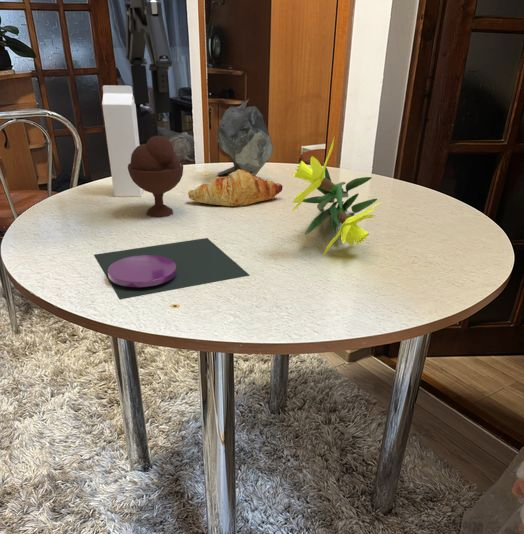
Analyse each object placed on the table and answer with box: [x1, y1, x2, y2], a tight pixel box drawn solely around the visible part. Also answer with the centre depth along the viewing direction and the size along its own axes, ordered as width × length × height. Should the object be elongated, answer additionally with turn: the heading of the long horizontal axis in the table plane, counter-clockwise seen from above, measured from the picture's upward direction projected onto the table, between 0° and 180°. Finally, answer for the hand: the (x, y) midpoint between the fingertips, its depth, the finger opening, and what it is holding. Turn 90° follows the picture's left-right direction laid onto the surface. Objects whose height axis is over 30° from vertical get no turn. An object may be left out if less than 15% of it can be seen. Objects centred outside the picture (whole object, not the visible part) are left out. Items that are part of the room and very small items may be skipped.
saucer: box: [108, 255, 177, 287], centre depth 76 cm, size 10×10×2 cm
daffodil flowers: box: [289, 135, 381, 257], centre depth 91 cm, size 17×15×35 cm
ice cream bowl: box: [128, 135, 184, 218], centre depth 101 cm, size 11×11×15 cm
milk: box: [101, 84, 144, 198], centre depth 111 cm, size 6×6×22 cm
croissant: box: [187, 169, 283, 207], centre depth 112 cm, size 21×10×8 cm, turn 106°
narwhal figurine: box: [216, 98, 275, 177], centre depth 124 cm, size 14×15×18 cm
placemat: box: [93, 237, 251, 300], centre depth 81 cm, size 18×20×1 cm
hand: (151, 108), depth 95 cm, fingers open, 13 cm apart
